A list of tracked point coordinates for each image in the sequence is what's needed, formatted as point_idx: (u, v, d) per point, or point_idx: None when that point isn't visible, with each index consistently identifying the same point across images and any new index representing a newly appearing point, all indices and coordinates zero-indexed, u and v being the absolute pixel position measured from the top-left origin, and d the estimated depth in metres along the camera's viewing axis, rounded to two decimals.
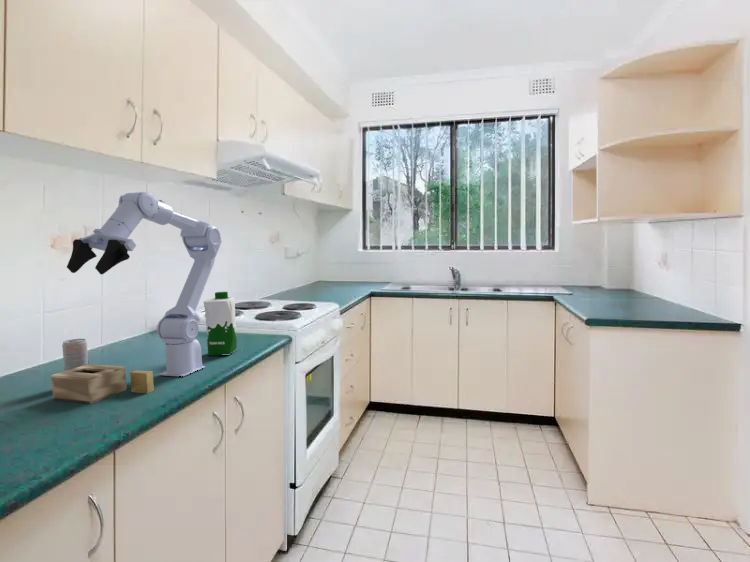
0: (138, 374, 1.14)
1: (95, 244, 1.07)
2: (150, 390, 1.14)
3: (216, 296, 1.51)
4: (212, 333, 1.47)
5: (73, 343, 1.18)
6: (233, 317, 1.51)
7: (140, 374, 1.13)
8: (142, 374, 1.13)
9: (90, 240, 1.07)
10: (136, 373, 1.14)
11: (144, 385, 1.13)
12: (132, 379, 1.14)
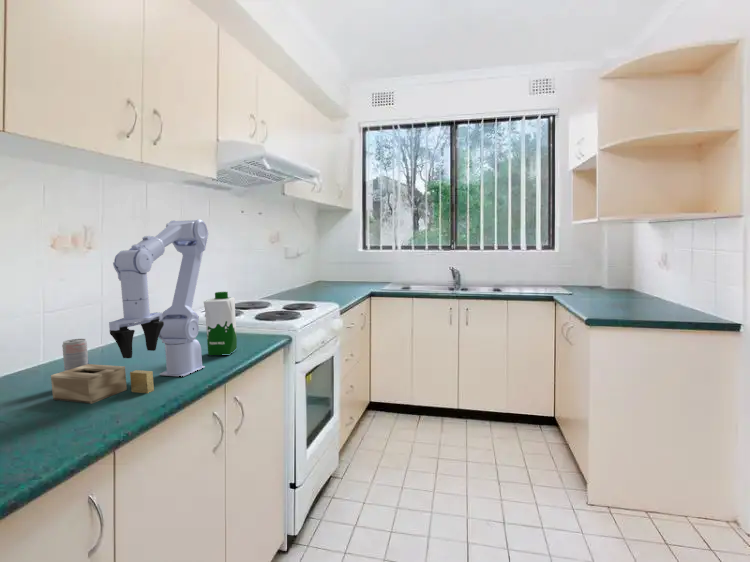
0: (138, 374, 1.14)
1: (131, 324, 1.11)
2: (150, 390, 1.14)
3: (216, 296, 1.51)
4: (212, 333, 1.47)
5: (73, 343, 1.18)
6: (233, 317, 1.51)
7: (140, 374, 1.13)
8: (142, 374, 1.13)
9: None
10: (136, 373, 1.14)
11: (144, 385, 1.13)
12: (132, 379, 1.14)
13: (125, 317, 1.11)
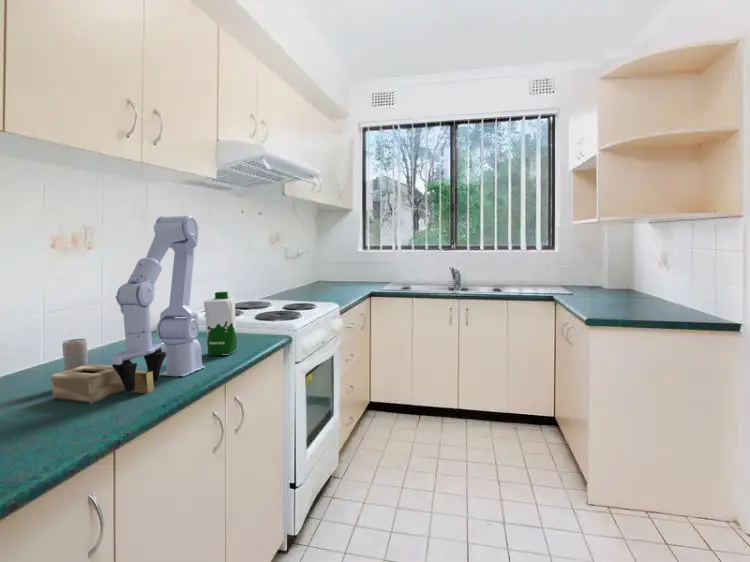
0: (138, 374, 1.14)
1: (133, 357, 1.12)
2: (150, 390, 1.14)
3: (216, 296, 1.51)
4: (212, 333, 1.47)
5: (73, 343, 1.18)
6: (233, 317, 1.51)
7: (140, 374, 1.13)
8: (142, 374, 1.13)
9: None
10: (136, 373, 1.14)
11: (144, 385, 1.13)
12: None
13: (128, 350, 1.12)
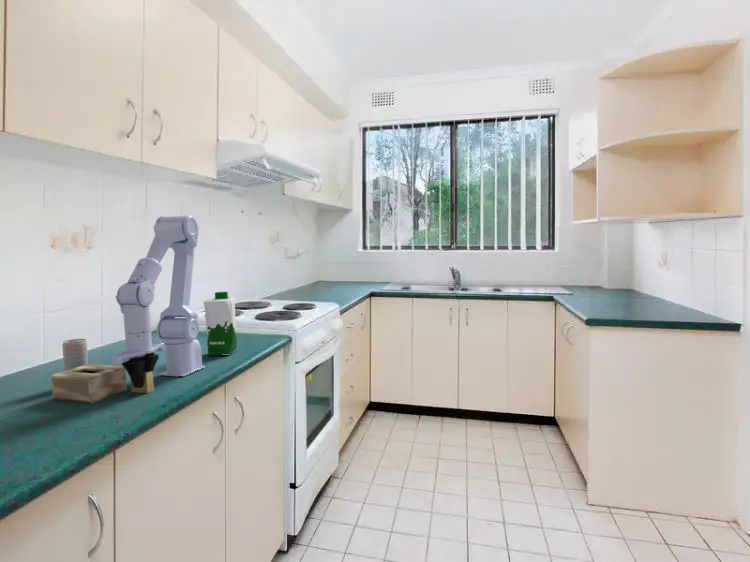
0: None
1: (133, 357, 1.12)
2: (150, 390, 1.14)
3: (216, 296, 1.51)
4: (212, 333, 1.47)
5: (73, 343, 1.18)
6: (233, 317, 1.51)
7: None
8: None
9: None
10: None
11: (144, 385, 1.13)
12: None
13: (128, 350, 1.12)
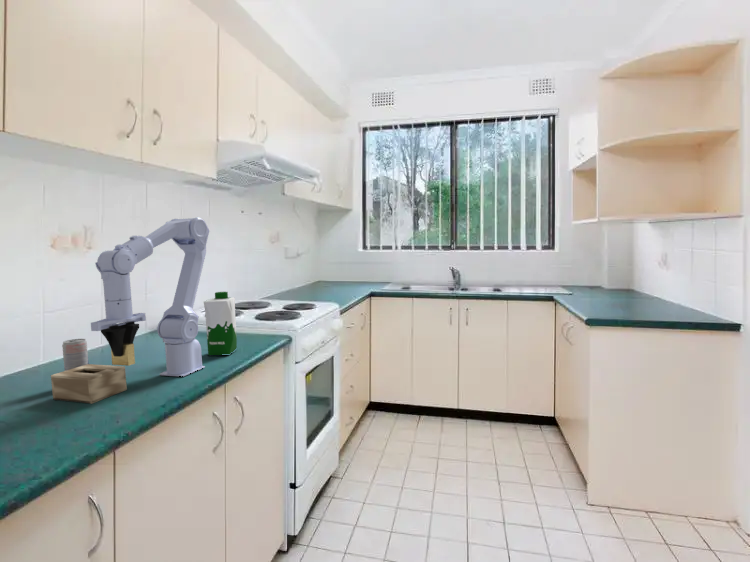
0: None
1: (113, 325, 1.11)
2: (131, 362, 1.13)
3: (216, 296, 1.51)
4: (212, 333, 1.47)
5: (73, 343, 1.18)
6: (233, 317, 1.51)
7: None
8: (123, 346, 1.12)
9: (109, 323, 1.09)
10: None
11: (125, 357, 1.12)
12: None
13: (107, 318, 1.10)
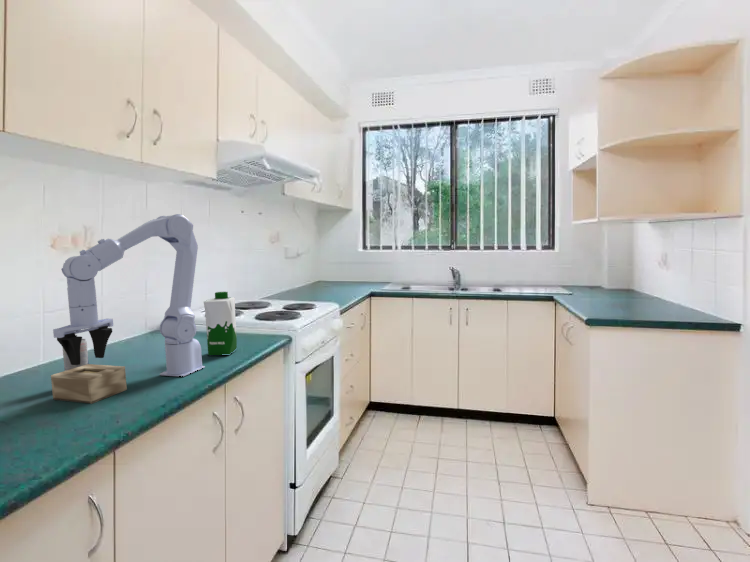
0: None
1: (77, 331, 1.10)
2: None
3: (216, 296, 1.51)
4: (212, 333, 1.47)
5: None
6: (233, 317, 1.51)
7: None
8: None
9: None
10: None
11: None
12: None
13: (71, 324, 1.10)
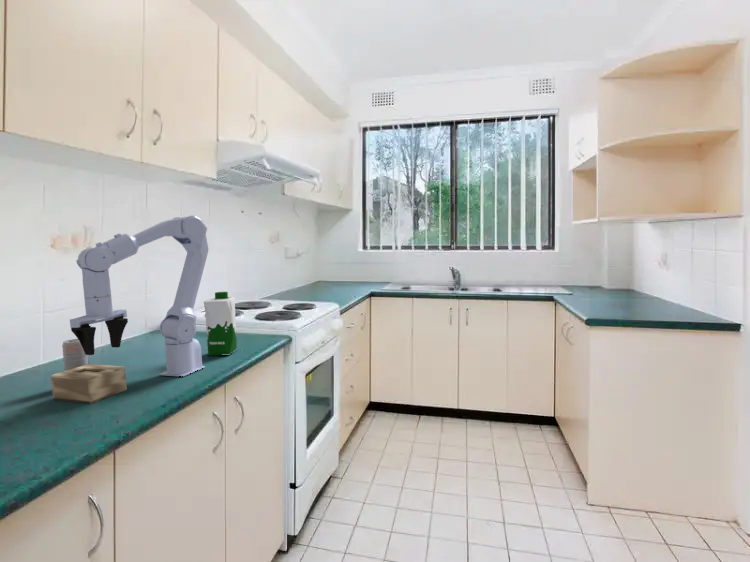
0: None
1: (93, 321, 1.12)
2: None
3: (216, 296, 1.51)
4: (212, 333, 1.47)
5: (73, 343, 1.18)
6: (233, 317, 1.51)
7: None
8: None
9: None
10: None
11: None
12: None
13: (87, 314, 1.12)
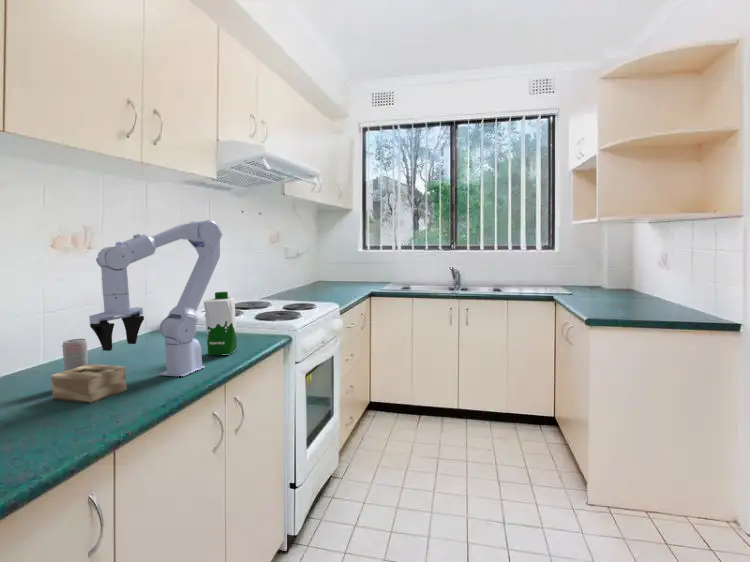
0: None
1: (111, 318, 1.15)
2: None
3: (216, 296, 1.51)
4: (212, 333, 1.47)
5: (73, 343, 1.18)
6: (233, 317, 1.51)
7: None
8: None
9: (107, 316, 1.14)
10: None
11: None
12: None
13: (105, 311, 1.15)
